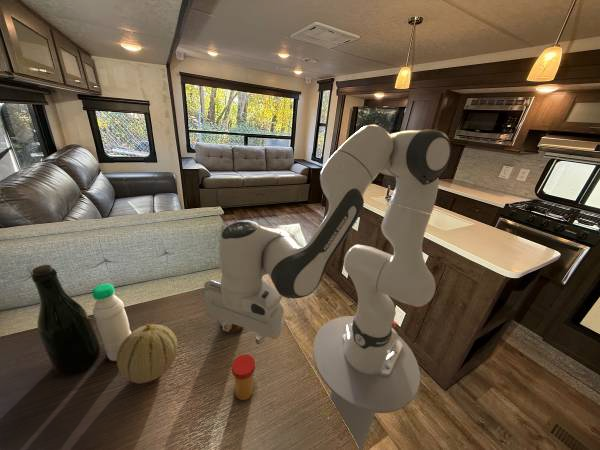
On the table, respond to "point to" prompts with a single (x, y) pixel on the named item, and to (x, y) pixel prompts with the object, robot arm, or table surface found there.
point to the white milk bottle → (110, 319)
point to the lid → (243, 366)
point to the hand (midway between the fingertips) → (243, 335)
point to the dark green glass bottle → (63, 325)
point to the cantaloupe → (147, 353)
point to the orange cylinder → (244, 388)
